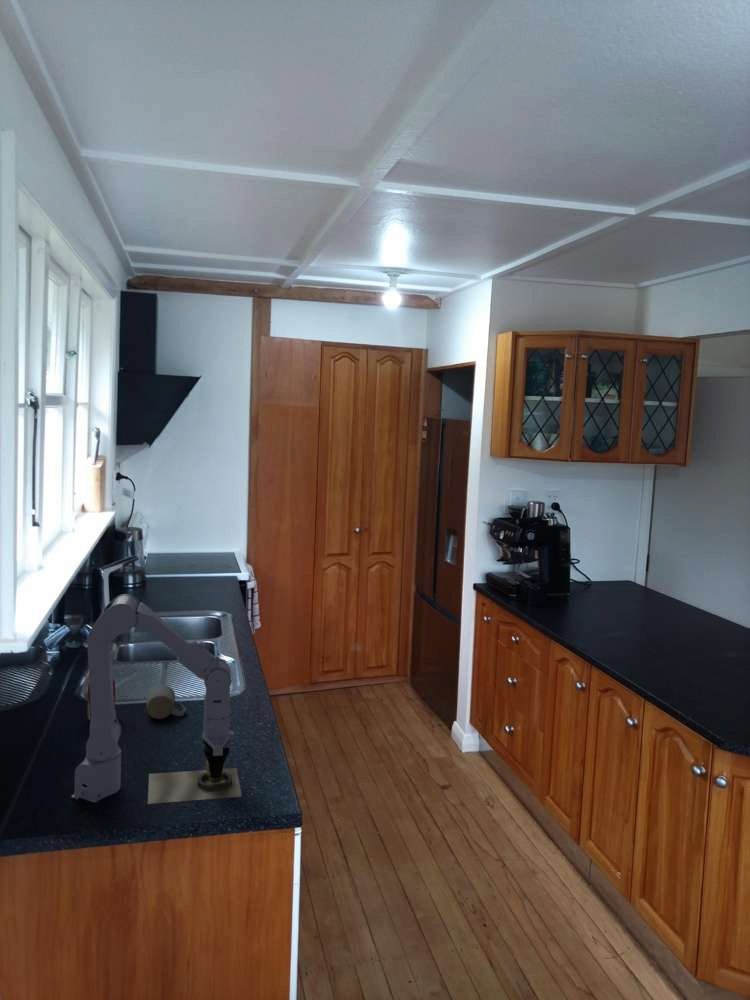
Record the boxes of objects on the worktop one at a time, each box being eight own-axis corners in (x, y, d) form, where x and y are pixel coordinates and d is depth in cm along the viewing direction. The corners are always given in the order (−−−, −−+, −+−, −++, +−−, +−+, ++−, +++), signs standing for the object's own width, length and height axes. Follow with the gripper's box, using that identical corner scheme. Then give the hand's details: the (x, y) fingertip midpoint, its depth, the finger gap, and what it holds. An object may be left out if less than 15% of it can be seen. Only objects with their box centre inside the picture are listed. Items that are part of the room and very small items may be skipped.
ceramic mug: (145, 721, 211) (146, 694, 210) (146, 710, 219) (147, 683, 218) (185, 720, 214) (186, 693, 213) (185, 709, 222) (186, 683, 221)
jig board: (147, 808, 166) (147, 798, 166) (149, 778, 179) (149, 769, 179) (241, 800, 171) (242, 791, 171) (236, 772, 184) (236, 763, 184)
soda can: (86, 725, 207) (86, 681, 205) (88, 715, 213) (89, 673, 212) (114, 723, 209) (114, 680, 207) (115, 713, 215) (116, 672, 214)
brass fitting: (224, 781, 175) (224, 765, 174) (206, 783, 174) (206, 766, 173) (223, 773, 179) (223, 757, 178) (205, 775, 177) (205, 758, 177)
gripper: (237, 726, 169) (235, 786, 170) (232, 702, 182) (230, 757, 184) (204, 728, 167) (202, 788, 168) (201, 703, 181) (200, 759, 182)
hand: (215, 772), depth 176 cm, fingers closed on brass fitting, 4 cm apart
